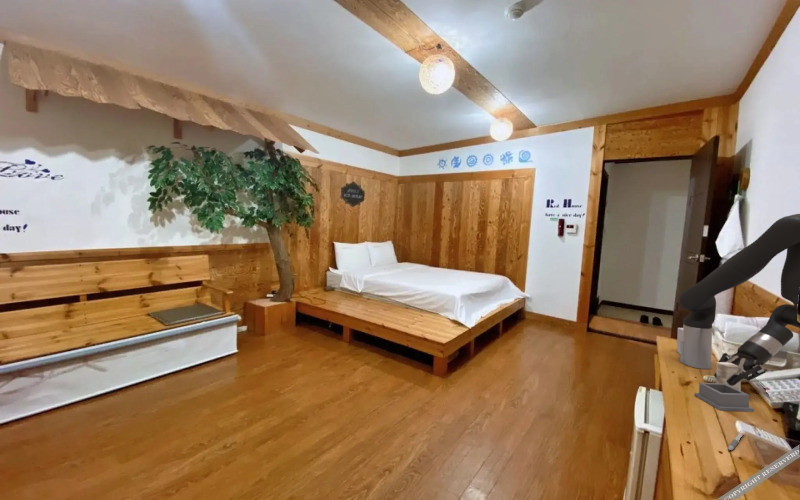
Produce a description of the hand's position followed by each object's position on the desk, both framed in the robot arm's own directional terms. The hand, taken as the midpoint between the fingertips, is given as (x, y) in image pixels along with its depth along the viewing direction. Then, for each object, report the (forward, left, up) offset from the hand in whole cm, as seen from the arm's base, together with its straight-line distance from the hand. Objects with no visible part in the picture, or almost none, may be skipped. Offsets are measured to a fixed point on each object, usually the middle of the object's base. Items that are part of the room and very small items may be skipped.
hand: (722, 380), depth 117 cm
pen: (+18, -34, -5) cm, 38 cm away
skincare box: (-28, +33, -4) cm, 43 cm away
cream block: (+1, +2, -4) cm, 5 cm away
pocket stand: (+5, -10, -4) cm, 12 cm away
